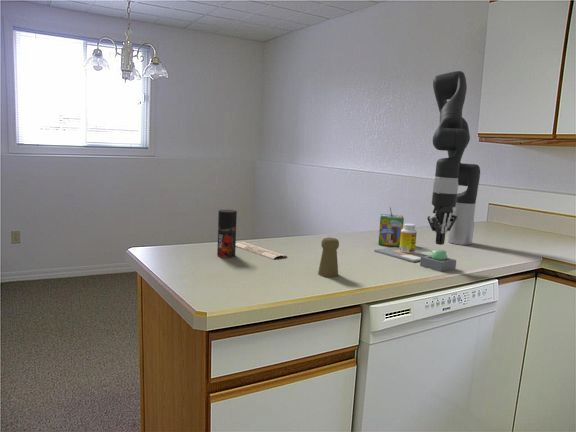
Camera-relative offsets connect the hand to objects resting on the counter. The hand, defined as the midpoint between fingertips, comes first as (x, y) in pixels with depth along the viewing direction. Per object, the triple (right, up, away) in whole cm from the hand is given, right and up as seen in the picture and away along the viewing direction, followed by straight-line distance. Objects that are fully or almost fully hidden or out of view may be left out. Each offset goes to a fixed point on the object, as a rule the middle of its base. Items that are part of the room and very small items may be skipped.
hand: (439, 244), depth 154 cm
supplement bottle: (-6, -4, +19) cm, 20 cm away
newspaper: (-60, -4, +11) cm, 61 cm away
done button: (0, -6, +1) cm, 6 cm away
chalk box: (-9, -2, +36) cm, 37 cm away
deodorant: (-70, -4, +3) cm, 70 cm away
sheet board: (-5, -5, +19) cm, 20 cm away
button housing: (0, -8, +1) cm, 8 cm away
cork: (-38, -8, -14) cm, 41 cm away
